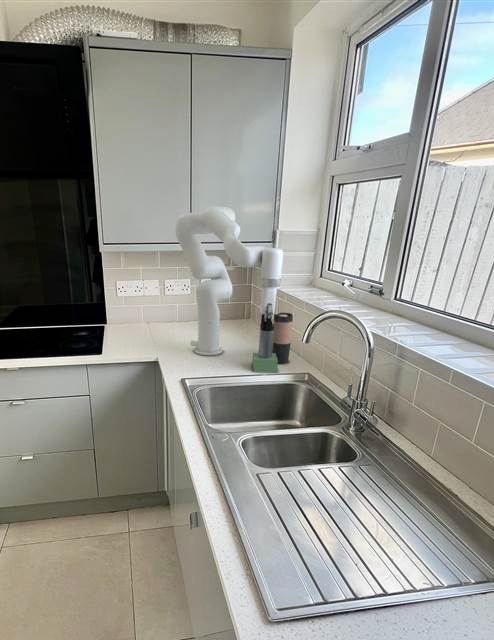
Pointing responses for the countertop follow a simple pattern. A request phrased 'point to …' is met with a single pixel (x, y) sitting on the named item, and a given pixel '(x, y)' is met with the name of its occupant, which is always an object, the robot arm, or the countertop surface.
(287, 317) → the travel mug
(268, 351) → the steel flask
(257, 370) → the green block
